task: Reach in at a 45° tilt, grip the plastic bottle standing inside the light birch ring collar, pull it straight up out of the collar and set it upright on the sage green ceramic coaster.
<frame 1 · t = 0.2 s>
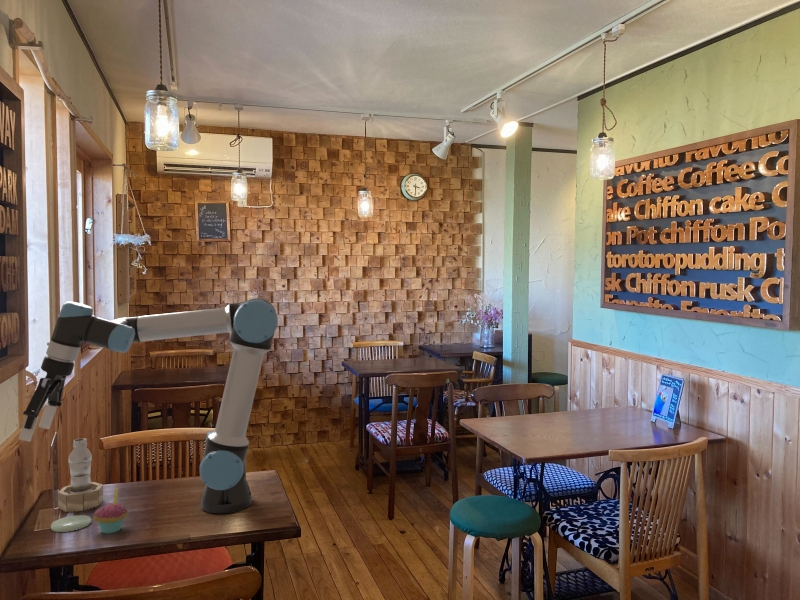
hand: (34, 433, 165), 28 cm above the table, tool tilted 20°, fingers open, 13 cm apart
cupcake: (111, 531, 170), on the table
sage coaster: (71, 524, 174), on the table
plastic bottle: (81, 505, 189), resting in birch collar
birch collar: (81, 504, 189), on the table
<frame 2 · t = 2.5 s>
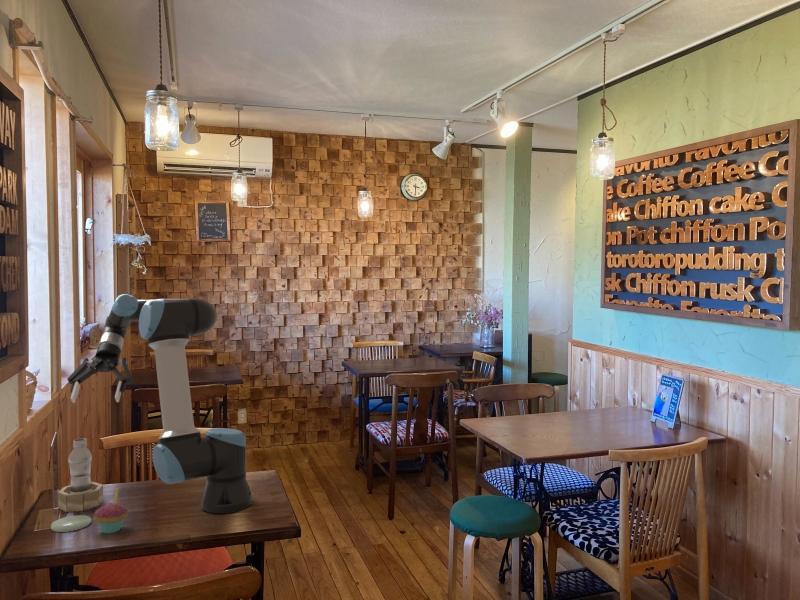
hand: (94, 400, 200), 30 cm above the table, tool tilted 45°, fingers open, 13 cm apart
nothing on the table moved.
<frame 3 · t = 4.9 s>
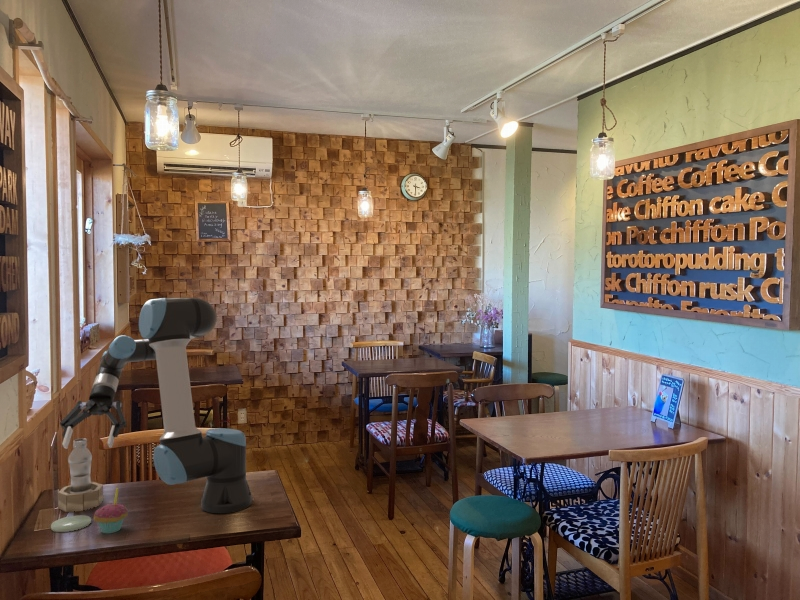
hand: (87, 446, 195), 16 cm above the table, tool tilted 45°, fingers open, 13 cm apart
nothing on the table moved.
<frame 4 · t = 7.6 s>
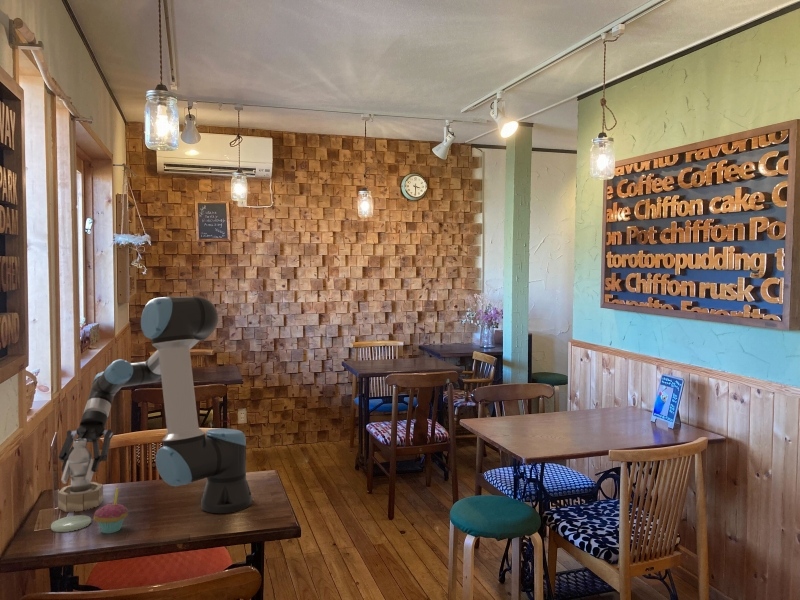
hand: (75, 481, 185), 8 cm above the table, tool tilted 45°, fingers closed on plastic bottle, 6 cm apart
plastic bottle: (81, 505, 189), resting in birch collar, touching gripper
everything else where it was.
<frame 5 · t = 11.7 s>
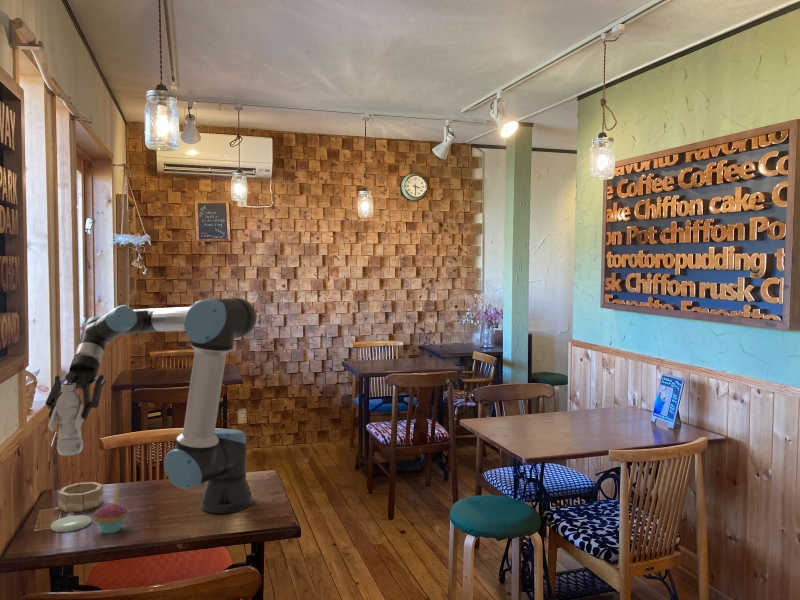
hand: (64, 428, 170), 28 cm above the table, tool tilted 45°, fingers closed on plastic bottle, 6 cm apart
plastic bottle: (70, 455, 173), point 20 cm above the table, touching gripper
everything else where it was.
when the fingers open (11 cm above the table, at t = 15.6 s): plastic bottle drops 1 cm, resting on sage coaster.
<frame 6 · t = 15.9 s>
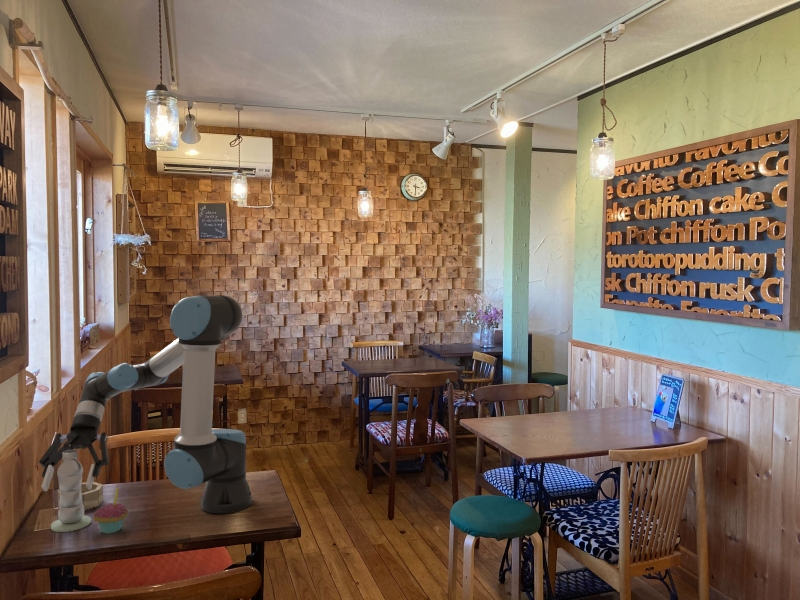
hand: (66, 488, 170), 11 cm above the table, tool tilted 45°, fingers open, 11 cm apart
plastic bottle: (71, 522, 174), point 1 cm above the table, touching sage coaster
everything else where it was.
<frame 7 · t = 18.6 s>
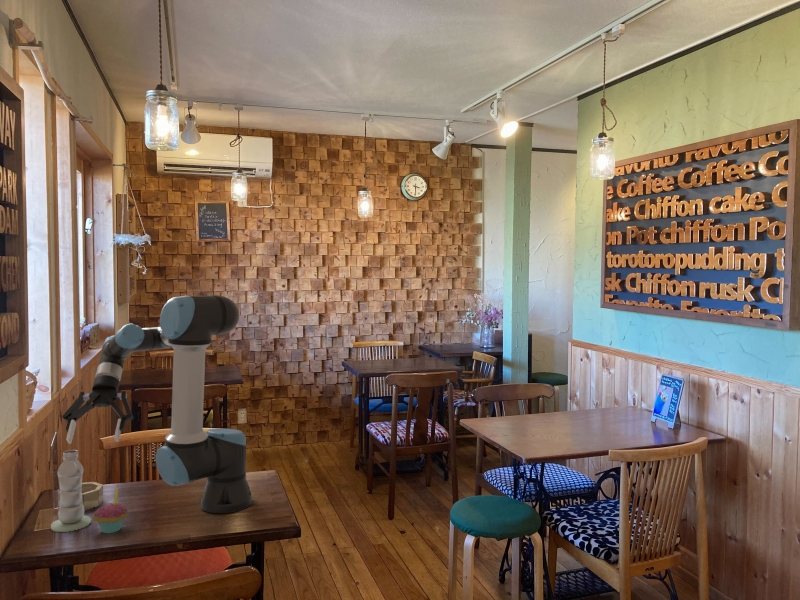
hand: (92, 440, 186), 20 cm above the table, tool tilted 40°, fingers open, 13 cm apart
nothing on the table moved.
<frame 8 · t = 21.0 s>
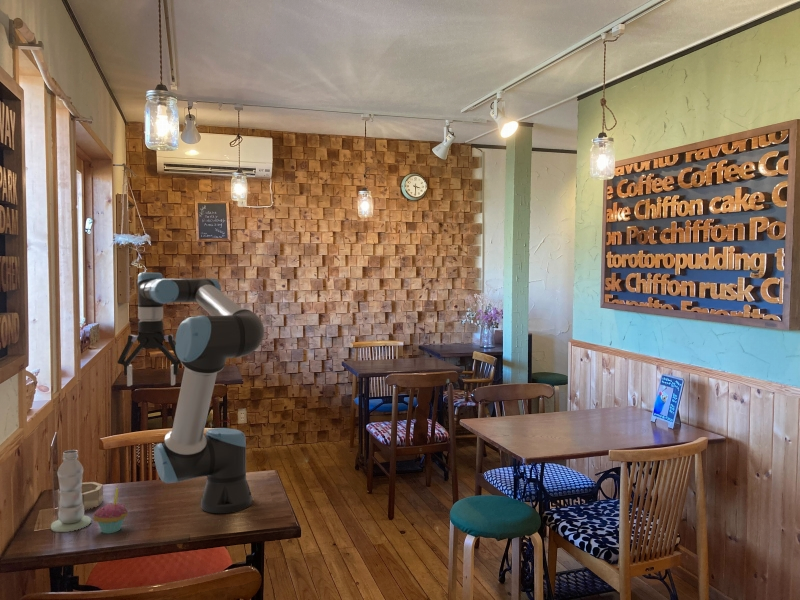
hand: (151, 385, 201), 35 cm above the table, tool pointing down, fingers open, 13 cm apart
nothing on the table moved.
at the end: plastic bottle inside the target area on the sage coaster (0.1 cm from its centre), point 0.6 cm above the sage coaster's base; plastic bottle tilted 0°; the gripper is holding nothing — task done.
